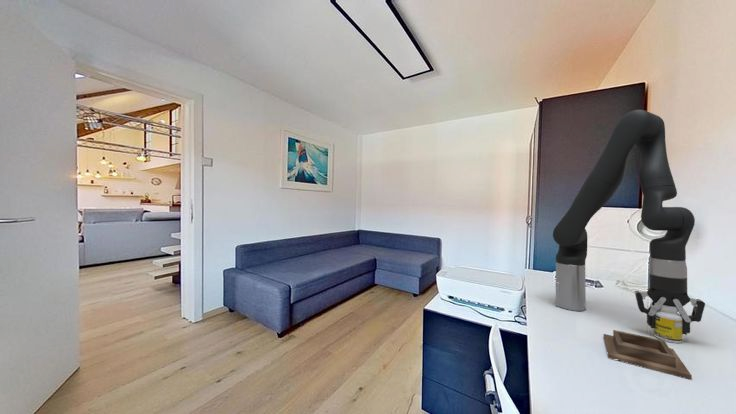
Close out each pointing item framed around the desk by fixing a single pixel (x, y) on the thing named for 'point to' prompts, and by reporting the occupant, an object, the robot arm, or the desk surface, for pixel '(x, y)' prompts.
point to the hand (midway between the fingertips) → (667, 330)
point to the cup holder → (645, 353)
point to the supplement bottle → (668, 324)
